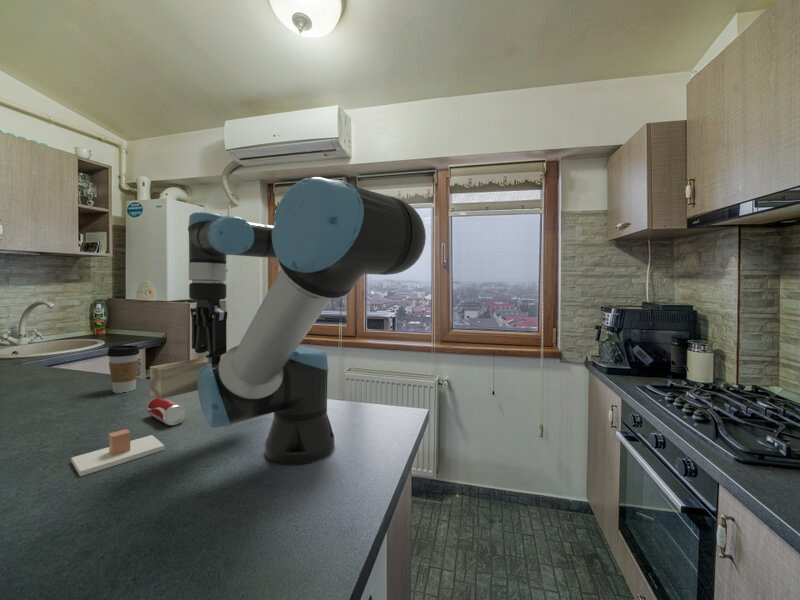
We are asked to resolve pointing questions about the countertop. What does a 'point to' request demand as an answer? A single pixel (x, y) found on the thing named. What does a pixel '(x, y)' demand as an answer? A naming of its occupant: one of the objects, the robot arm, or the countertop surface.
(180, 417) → the soda can
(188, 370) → the beech bar
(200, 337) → the robot arm
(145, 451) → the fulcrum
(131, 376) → the coffee cup
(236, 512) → the countertop surface
